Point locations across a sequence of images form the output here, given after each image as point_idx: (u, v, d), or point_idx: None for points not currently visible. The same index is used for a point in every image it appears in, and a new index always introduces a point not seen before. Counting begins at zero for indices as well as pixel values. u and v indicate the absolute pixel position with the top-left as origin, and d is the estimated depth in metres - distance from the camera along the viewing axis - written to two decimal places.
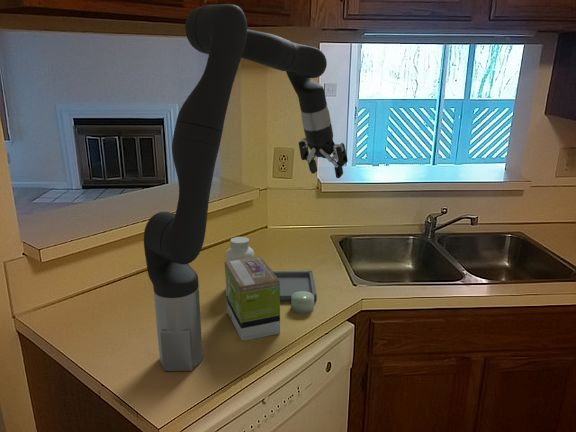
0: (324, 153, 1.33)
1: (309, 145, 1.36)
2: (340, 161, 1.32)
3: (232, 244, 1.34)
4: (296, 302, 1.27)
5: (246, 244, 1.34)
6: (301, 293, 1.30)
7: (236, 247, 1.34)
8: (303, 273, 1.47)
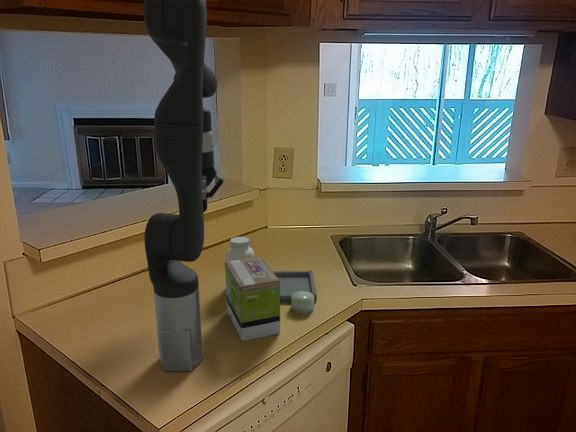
0: (204, 181, 1.28)
1: None
2: (212, 192, 1.30)
3: (232, 244, 1.34)
4: (296, 302, 1.27)
5: (246, 244, 1.34)
6: (301, 293, 1.30)
7: (236, 247, 1.34)
8: (303, 273, 1.47)
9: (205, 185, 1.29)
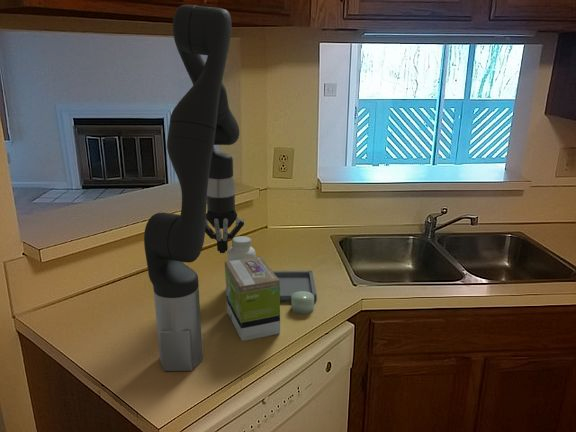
0: (225, 223, 1.32)
1: (209, 217, 1.32)
2: (233, 234, 1.34)
3: (234, 243, 1.34)
4: (296, 302, 1.27)
5: (248, 244, 1.34)
6: (301, 293, 1.30)
7: (238, 246, 1.34)
8: (303, 273, 1.47)
9: (226, 227, 1.33)
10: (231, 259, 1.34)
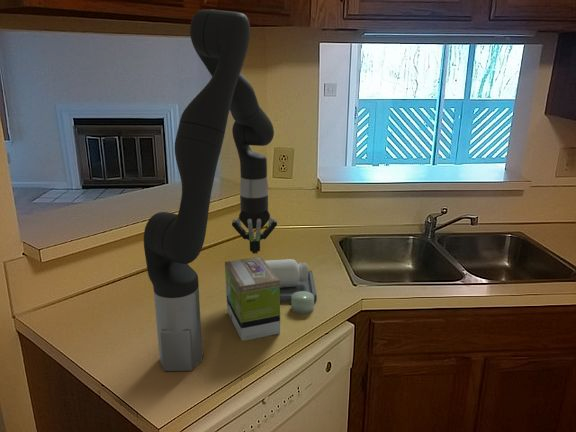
0: (259, 224, 1.32)
1: (242, 217, 1.32)
2: (266, 234, 1.34)
3: (305, 269, 1.38)
4: (296, 302, 1.27)
5: None
6: (301, 293, 1.30)
7: (303, 274, 1.38)
8: None
9: (259, 228, 1.33)
10: (292, 270, 1.36)
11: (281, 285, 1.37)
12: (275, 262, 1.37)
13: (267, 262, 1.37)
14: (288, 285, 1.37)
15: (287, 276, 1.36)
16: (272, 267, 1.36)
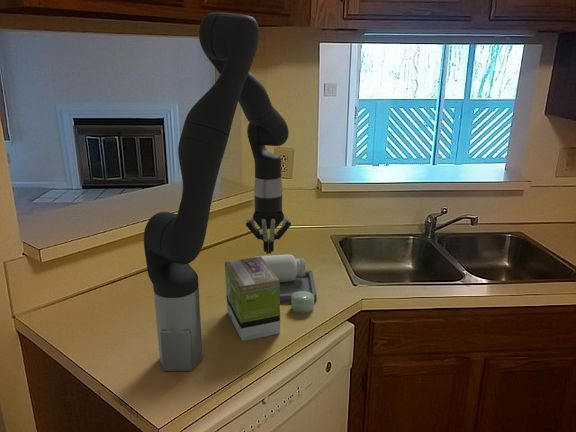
0: (273, 224, 1.33)
1: (256, 217, 1.33)
2: (279, 234, 1.34)
3: (301, 259, 1.43)
4: (296, 302, 1.27)
5: (303, 271, 1.41)
6: (301, 293, 1.30)
7: (300, 262, 1.42)
8: None
9: (273, 228, 1.33)
10: (287, 256, 1.42)
11: (279, 269, 1.39)
12: None
13: None
14: (286, 270, 1.39)
15: (284, 259, 1.40)
16: None
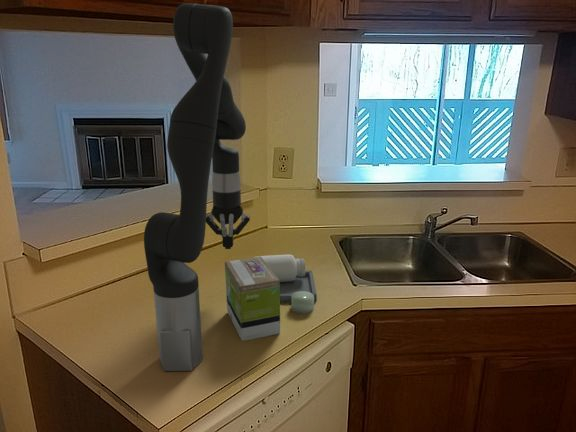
0: (231, 219, 1.32)
1: (215, 212, 1.32)
2: (238, 229, 1.33)
3: (301, 259, 1.43)
4: (296, 302, 1.27)
5: (303, 271, 1.41)
6: (301, 293, 1.30)
7: (300, 262, 1.42)
8: None
9: (232, 223, 1.32)
10: (287, 256, 1.42)
11: (279, 269, 1.39)
12: None
13: None
14: (286, 270, 1.39)
15: (284, 259, 1.40)
16: None
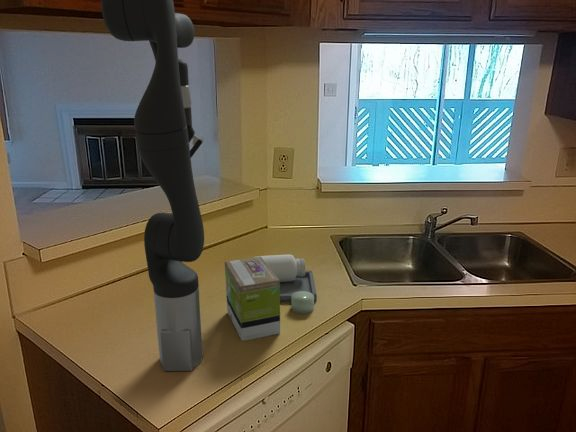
0: None
1: None
2: (189, 154, 1.18)
3: (301, 259, 1.43)
4: (296, 302, 1.27)
5: (303, 271, 1.41)
6: (301, 293, 1.30)
7: (300, 262, 1.42)
8: None
9: None
10: (287, 256, 1.42)
11: (279, 269, 1.39)
12: None
13: None
14: (286, 270, 1.39)
15: (284, 259, 1.40)
16: None
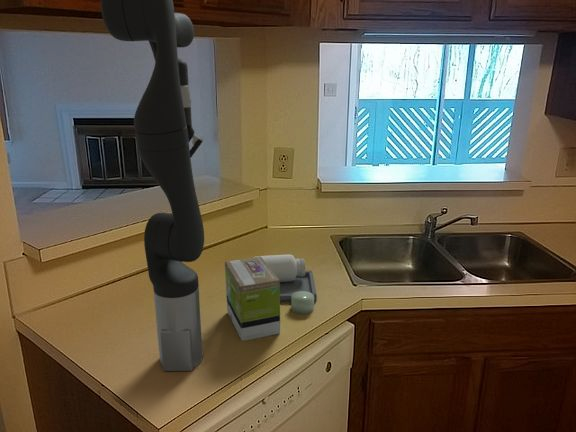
0: None
1: None
2: (189, 154, 1.18)
3: (301, 259, 1.43)
4: (296, 302, 1.27)
5: (303, 271, 1.41)
6: (301, 293, 1.30)
7: (300, 262, 1.42)
8: None
9: None
10: (287, 256, 1.42)
11: (279, 269, 1.39)
12: None
13: None
14: (286, 270, 1.39)
15: (284, 259, 1.40)
16: None
